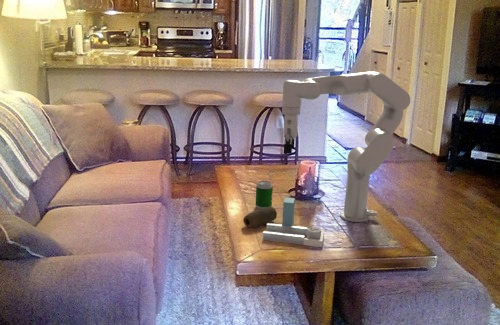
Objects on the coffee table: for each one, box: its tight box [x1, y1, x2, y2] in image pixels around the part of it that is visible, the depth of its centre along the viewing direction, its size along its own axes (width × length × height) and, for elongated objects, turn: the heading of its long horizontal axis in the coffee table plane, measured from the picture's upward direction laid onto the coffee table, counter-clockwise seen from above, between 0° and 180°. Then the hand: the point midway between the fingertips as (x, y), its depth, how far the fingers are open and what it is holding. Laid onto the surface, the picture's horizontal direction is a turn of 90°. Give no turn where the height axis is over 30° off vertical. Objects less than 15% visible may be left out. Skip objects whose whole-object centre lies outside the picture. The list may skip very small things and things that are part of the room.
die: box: [306, 227, 322, 240], centre depth 197 cm, size 5×5×5 cm
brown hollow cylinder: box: [242, 206, 278, 228], centre depth 212 cm, size 15×7×7 cm, turn 136°
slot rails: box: [262, 222, 308, 246], centre depth 201 cm, size 16×10×3 cm, turn 78°
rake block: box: [281, 197, 296, 226], centre depth 209 cm, size 4×6×12 cm, turn 168°
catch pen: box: [303, 227, 325, 248], centre depth 199 cm, size 7×11×2 cm, turn 168°
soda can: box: [255, 180, 274, 210], centre depth 230 cm, size 8×8×12 cm
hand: (289, 150), depth 214 cm, fingers open, 9 cm apart
